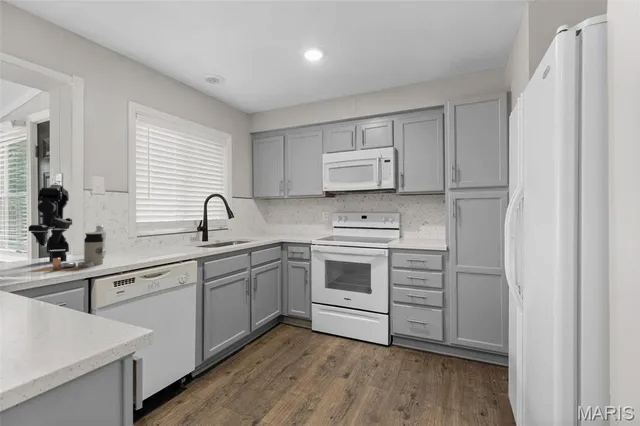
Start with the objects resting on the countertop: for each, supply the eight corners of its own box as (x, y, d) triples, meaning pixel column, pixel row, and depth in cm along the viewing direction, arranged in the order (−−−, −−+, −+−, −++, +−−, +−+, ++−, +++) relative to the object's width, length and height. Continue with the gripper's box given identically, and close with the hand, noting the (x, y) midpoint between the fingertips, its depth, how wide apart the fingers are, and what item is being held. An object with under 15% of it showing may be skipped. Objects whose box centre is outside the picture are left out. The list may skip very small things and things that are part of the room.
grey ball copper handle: (65, 265, 154) (65, 255, 154) (78, 265, 155) (78, 254, 155) (47, 270, 142) (47, 258, 142) (61, 270, 143) (61, 258, 143)
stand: (27, 274, 140) (27, 266, 140) (49, 268, 154) (49, 261, 154) (77, 273, 143) (77, 266, 143) (94, 268, 157) (94, 261, 157)
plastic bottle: (108, 257, 195) (108, 225, 195) (96, 258, 188) (97, 226, 188) (102, 256, 197) (102, 225, 197) (90, 257, 191) (91, 225, 191)
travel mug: (80, 266, 160) (81, 232, 160) (97, 264, 167) (98, 232, 167) (88, 268, 156) (89, 233, 156) (105, 266, 163) (106, 232, 163)
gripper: (54, 213, 142) (54, 247, 142) (80, 213, 160) (79, 242, 160) (27, 213, 140) (27, 247, 140) (56, 212, 158) (56, 242, 159)
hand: (49, 244), depth 150 cm, fingers open, 9 cm apart
